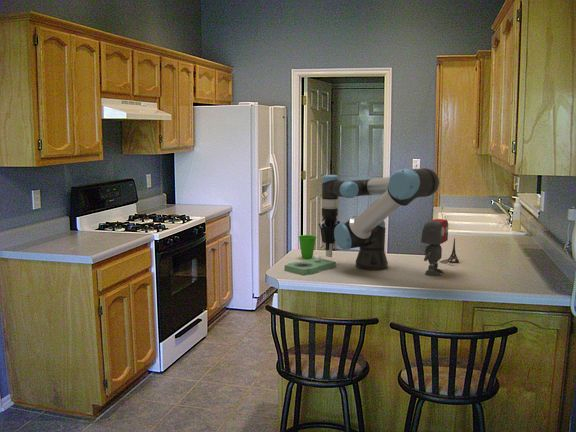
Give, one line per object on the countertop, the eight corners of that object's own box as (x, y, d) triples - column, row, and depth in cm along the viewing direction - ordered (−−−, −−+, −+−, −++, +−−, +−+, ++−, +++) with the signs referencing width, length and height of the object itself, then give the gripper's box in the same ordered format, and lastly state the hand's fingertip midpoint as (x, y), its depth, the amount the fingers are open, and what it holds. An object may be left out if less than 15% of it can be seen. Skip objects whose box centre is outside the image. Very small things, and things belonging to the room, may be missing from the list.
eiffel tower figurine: (450, 258, 287) (452, 232, 285) (469, 262, 280) (470, 235, 278) (435, 263, 276) (436, 236, 274) (454, 267, 269) (455, 239, 267)
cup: (314, 260, 278) (315, 238, 277) (296, 259, 280) (296, 237, 278) (317, 256, 287) (317, 235, 285) (299, 255, 289) (300, 234, 287)
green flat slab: (315, 262, 275) (315, 257, 274) (337, 267, 265) (337, 262, 264) (282, 270, 259) (283, 264, 259) (305, 275, 249) (305, 270, 249)
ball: (322, 261, 265) (322, 255, 265) (318, 262, 263) (318, 256, 262) (317, 260, 267) (317, 254, 267) (312, 261, 265) (313, 255, 265)
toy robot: (435, 279, 244) (439, 211, 239) (415, 276, 248) (418, 209, 244) (450, 269, 262) (453, 205, 257) (431, 267, 267) (433, 203, 262)
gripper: (332, 205, 274) (331, 253, 278) (314, 208, 265) (313, 257, 269) (344, 207, 269) (343, 255, 272) (326, 209, 260) (325, 260, 263)
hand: (328, 256), depth 271 cm, fingers closed
